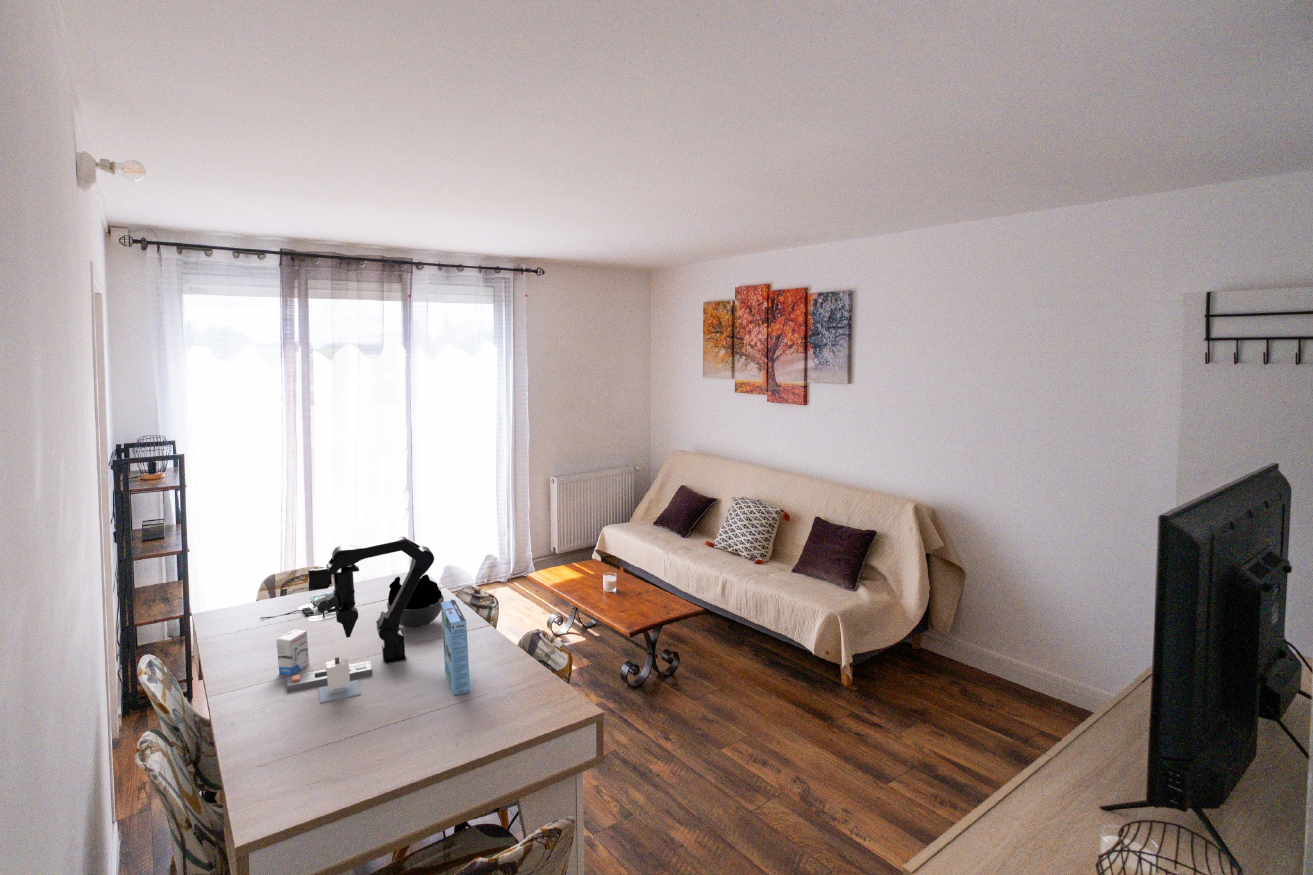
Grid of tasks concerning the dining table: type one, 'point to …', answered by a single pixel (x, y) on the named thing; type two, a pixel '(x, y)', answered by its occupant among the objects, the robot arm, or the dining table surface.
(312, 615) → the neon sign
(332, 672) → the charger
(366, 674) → the power strip
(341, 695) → the mat
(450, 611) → the light blue carton
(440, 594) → the coal bowl
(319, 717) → the dining table surface
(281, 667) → the ink box
